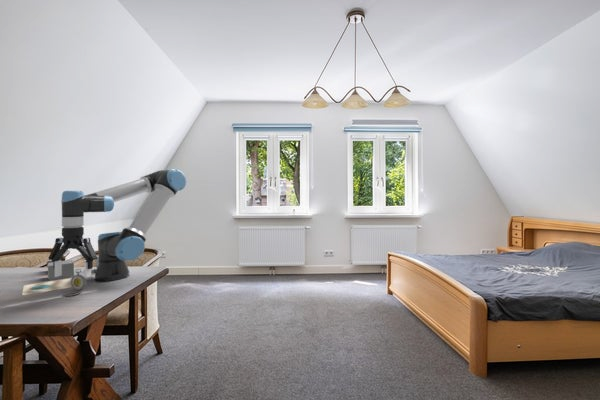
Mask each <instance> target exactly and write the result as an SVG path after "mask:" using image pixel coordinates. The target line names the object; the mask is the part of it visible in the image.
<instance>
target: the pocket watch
mask: <svg viewBox="0 0 600 400" xmlns="http://www.w3.org/2000/svg"><path fill="white" fill-rule="evenodd" d="M81 272H82V270H81V268H77V269H75V273H76V275H75V274H74V276H73V277H71V278H72V279H71V285H72V287H71V288H72V289H74V290H76V291H77V292H71V293H70V292H69V293H65V294H62V296H63V297H72V296H77V295H79V294H81V293H82V291H81V290H83V289H84V288H85V287H86V286H87V285H86V284H87V279H86V277H85V275H82V274H81ZM76 283H77V284H76ZM81 283H82V284H81ZM78 285H79V286H78Z"/></svg>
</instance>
